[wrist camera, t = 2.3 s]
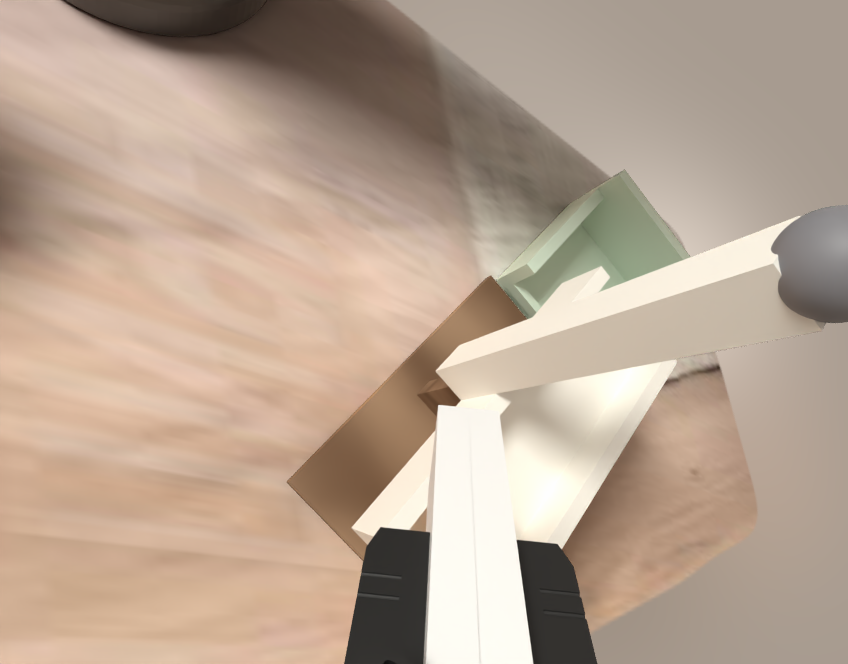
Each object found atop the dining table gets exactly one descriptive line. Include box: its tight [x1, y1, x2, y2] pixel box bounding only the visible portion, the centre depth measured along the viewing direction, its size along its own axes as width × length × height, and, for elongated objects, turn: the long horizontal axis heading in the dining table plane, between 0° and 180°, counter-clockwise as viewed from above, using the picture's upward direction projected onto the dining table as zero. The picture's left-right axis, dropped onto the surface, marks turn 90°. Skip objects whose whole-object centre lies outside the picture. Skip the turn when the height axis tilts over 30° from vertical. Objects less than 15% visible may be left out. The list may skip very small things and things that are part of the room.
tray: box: [496, 170, 690, 319], centre depth 36 cm, size 10×11×6 cm
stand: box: [287, 276, 527, 561], centre depth 30 cm, size 18×12×5 cm, turn 137°
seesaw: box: [352, 205, 848, 549], centre depth 19 cm, size 18×9×18 cm, turn 137°
